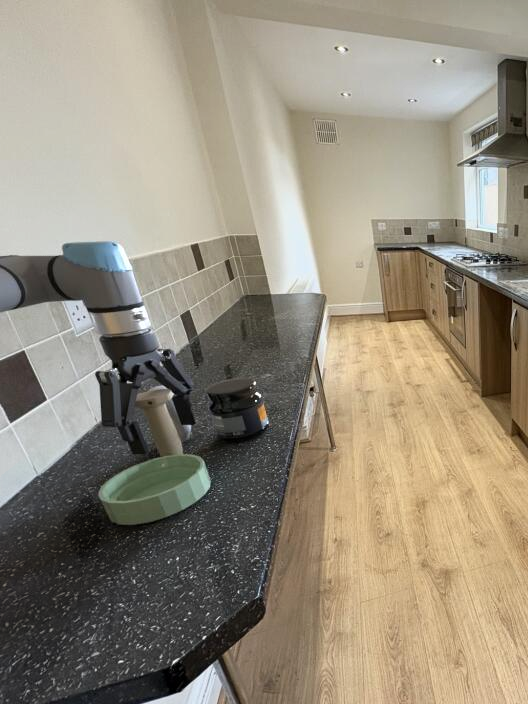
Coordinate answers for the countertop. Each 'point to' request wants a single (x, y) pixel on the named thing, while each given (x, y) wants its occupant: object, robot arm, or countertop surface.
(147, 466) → the bowl
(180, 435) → the salt shaker
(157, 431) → the handle
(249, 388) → the supplement container
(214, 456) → the countertop surface
